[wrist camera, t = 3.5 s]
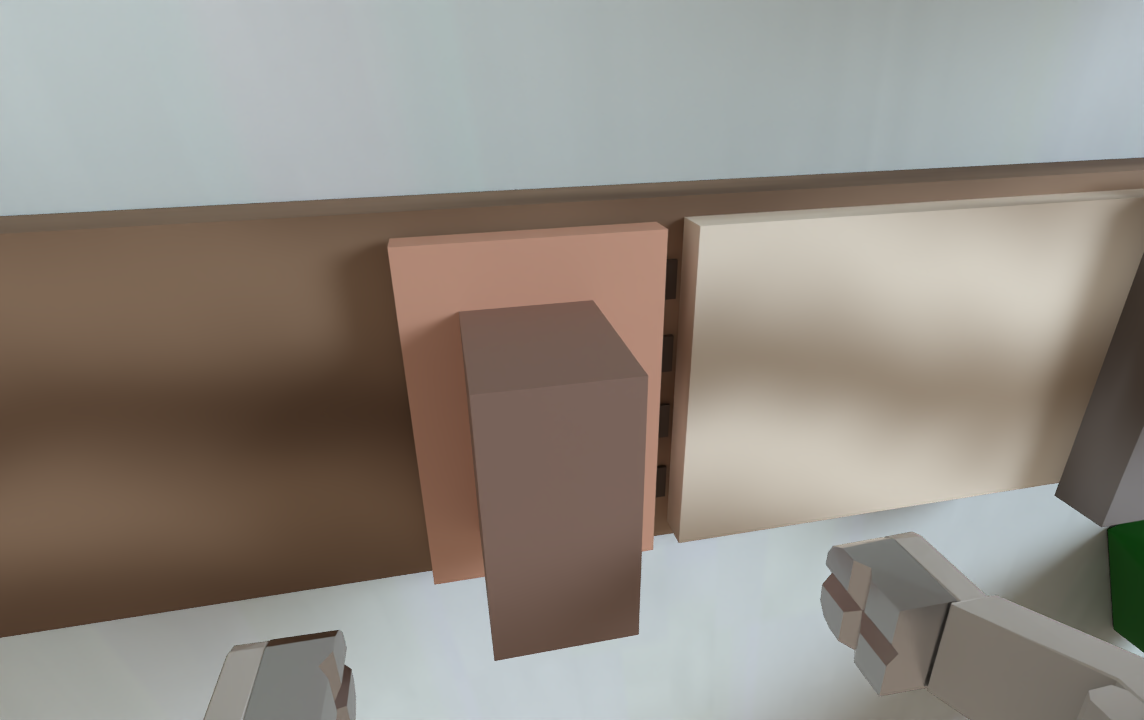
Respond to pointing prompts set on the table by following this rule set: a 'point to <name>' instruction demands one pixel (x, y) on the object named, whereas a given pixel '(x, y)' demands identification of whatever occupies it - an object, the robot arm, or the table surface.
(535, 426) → the pink plate with handle
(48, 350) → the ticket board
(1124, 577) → the milk carton
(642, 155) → the table surface
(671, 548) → the table surface
